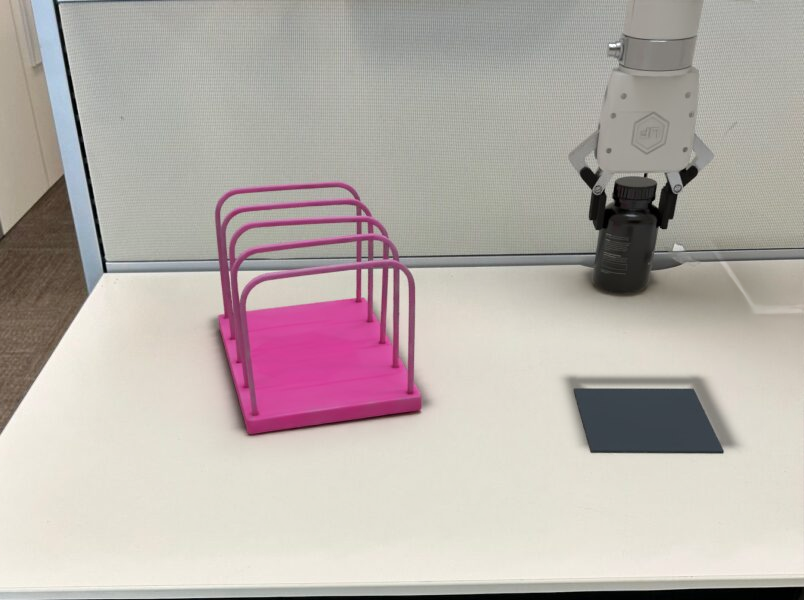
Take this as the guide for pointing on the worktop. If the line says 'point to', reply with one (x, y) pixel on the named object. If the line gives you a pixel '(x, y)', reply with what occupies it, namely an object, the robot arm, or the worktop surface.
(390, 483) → the worktop surface
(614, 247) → the supplement bottle
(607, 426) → the mat
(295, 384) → the file sorter
